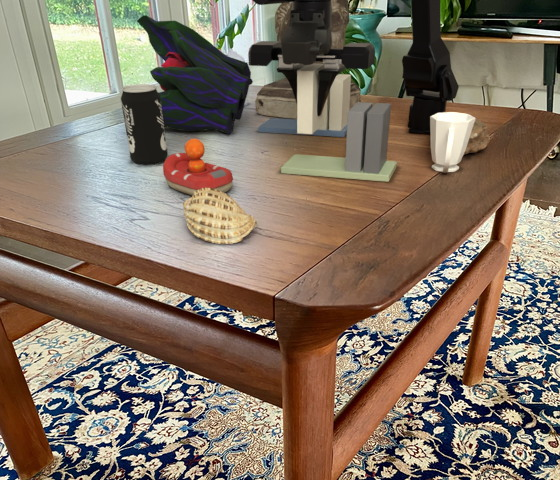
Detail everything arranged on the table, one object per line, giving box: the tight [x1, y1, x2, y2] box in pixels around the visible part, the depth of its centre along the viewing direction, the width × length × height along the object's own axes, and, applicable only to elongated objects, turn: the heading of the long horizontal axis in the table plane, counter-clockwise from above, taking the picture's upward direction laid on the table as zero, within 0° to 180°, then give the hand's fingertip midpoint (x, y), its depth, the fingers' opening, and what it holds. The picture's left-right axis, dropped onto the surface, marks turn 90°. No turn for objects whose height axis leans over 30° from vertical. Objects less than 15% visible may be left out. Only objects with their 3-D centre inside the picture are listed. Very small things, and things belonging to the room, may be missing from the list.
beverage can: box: [120, 83, 169, 166], centre depth 100 cm, size 7×7×12 cm
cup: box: [429, 111, 476, 174], centre depth 94 cm, size 7×10×8 cm
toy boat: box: [162, 138, 234, 197], centre depth 89 cm, size 8×12×8 cm, turn 47°
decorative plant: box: [136, 14, 254, 135], centre depth 118 cm, size 21×26×30 cm
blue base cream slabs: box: [257, 73, 352, 138], centre depth 117 cm, size 18×8×10 cm, turn 72°
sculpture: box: [254, 0, 362, 119], centre depth 124 cm, size 19×17×30 cm
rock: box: [464, 117, 491, 155], centre depth 104 cm, size 13×11×5 cm
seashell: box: [182, 188, 258, 245], centre depth 76 cm, size 8×6×10 cm
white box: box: [297, 64, 324, 135], centre depth 92 cm, size 2×7×9 cm, turn 162°
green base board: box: [280, 101, 398, 183], centre depth 94 cm, size 18×8×10 cm, turn 72°
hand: (310, 115), depth 94 cm, fingers closed on white box, 2 cm apart
